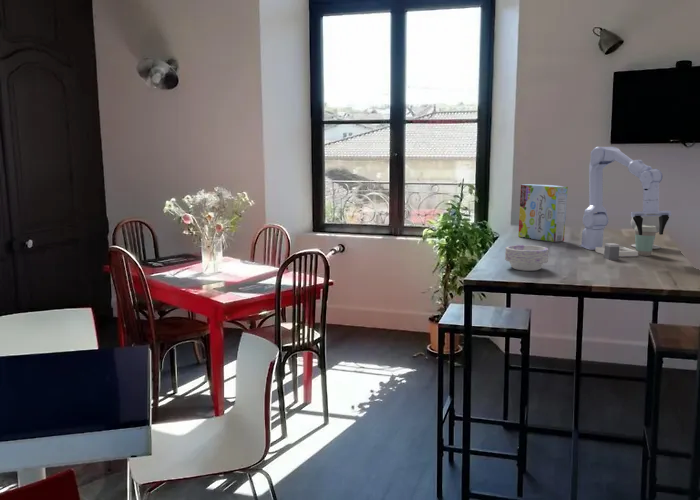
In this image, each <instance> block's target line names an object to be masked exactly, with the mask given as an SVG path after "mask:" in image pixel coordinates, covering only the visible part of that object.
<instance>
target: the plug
mask: <svg viewBox="0 0 700 500" xmlns="http://www.w3.org/2000/svg"><path fill="white" fill-rule="evenodd" d="M604 247H605V250H604V254H603V259H606V260H610V261H615V260H616V261H617V260H619V257H620V256H619V247H621V246H620V244H618V243H615V242H612V243H611V242H610V243H609V242H608V243H607V242H605V243H604Z"/></svg>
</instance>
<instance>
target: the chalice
mask: <svg viewBox="0 0 700 500" xmlns="http://www.w3.org/2000/svg"><path fill="white" fill-rule="evenodd" d="M647 215H659V214H647ZM641 217H642V218H643V222H642V225H652V226H656V229H657V232H656V234H657V233H659V217H660V216H641ZM630 227H631V228H632V229H633V230H634V231H635V227H636V223H635V221H634V220H633V217H631V220H630ZM630 245H631V247H633V248H636V244H635V243H632V244H630ZM661 248H662V246H660V245H657V244H653V249H652V250H659V249H661Z"/></svg>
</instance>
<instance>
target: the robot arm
mask: <svg viewBox="0 0 700 500" xmlns="http://www.w3.org/2000/svg"><path fill="white" fill-rule="evenodd" d="M615 161H616V162H617V163H619V164H621V165H622V166H624V167H626V168H627V171H628V172H629V173H630V174H632V175H634V176H635V177H636V178H638V179H639V181H640V183H641V187H642V211H631V212H630V218H632V217H633V220H634V221H635V223H636V226H637V228H638V232H639V235H642V222H643V218H642V217H641V216H660V217H659V232H658V233H659V235H661V236H663V235H664V231H665V227H666V225H667V222H668V221H669V219H670V217H671V216H672V210H660V183H661V182H662V179H663V173H662V171H661V170H660V169H659V168H654V169H653V168H652V166H651V165H647V164H646V163H644V161H643V160H642V159H632V158H630V157H629V155H626V154H625V153H624V152H623V151H621V148H618V147H616V146H596V147H593V149H592V150H591V151H590V161H589V163H588V164H589V165H588V167H589V168H588V179H589V181H588V185H589V186H588V188H589V189H588V190H589V192H588V193H589V194H588V200H589V201H588V207H587V208H585V210H584V211H583V213H584V214H583V215H582V216H583V217H582V224H583V226H584V228H583V230H582V232H581V234H582V235H581V244H580V245H579V248H582V249H583V248H584V249H585V250H589V251H590V250H595V251H596V247H604V243H603V242H604V231H605V229H606V226H607V225H608V224H609V220H610V219H609V215H608V210H607V208H605V206H604V205H603V203H604V201H603V199H604V195H603V194H604V183H603V182H604V180H603V179H604V169H605V167H607V166H608V165H610V164H611V163H614V162H615ZM647 214H659V215H647Z"/></svg>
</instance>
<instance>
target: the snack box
mask: <svg viewBox="0 0 700 500" xmlns="http://www.w3.org/2000/svg"><path fill="white" fill-rule="evenodd" d="M519 198H520V200H519V213H518V215H519V219H518V236H519V238H523V237H525V238H524V239H530V238H531V240H538V241H543V242H545V241H546V242H552V243H555V242H556V243H557V242H564V241H565V232H566V218H567V216H566V215H567V201H568V199H567V198H568V186H566V185H565V186H562V185H553V184H533V183H532V184H530V183H528V184H525V183H524V184H523V183H522V184H520V197H519Z"/></svg>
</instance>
